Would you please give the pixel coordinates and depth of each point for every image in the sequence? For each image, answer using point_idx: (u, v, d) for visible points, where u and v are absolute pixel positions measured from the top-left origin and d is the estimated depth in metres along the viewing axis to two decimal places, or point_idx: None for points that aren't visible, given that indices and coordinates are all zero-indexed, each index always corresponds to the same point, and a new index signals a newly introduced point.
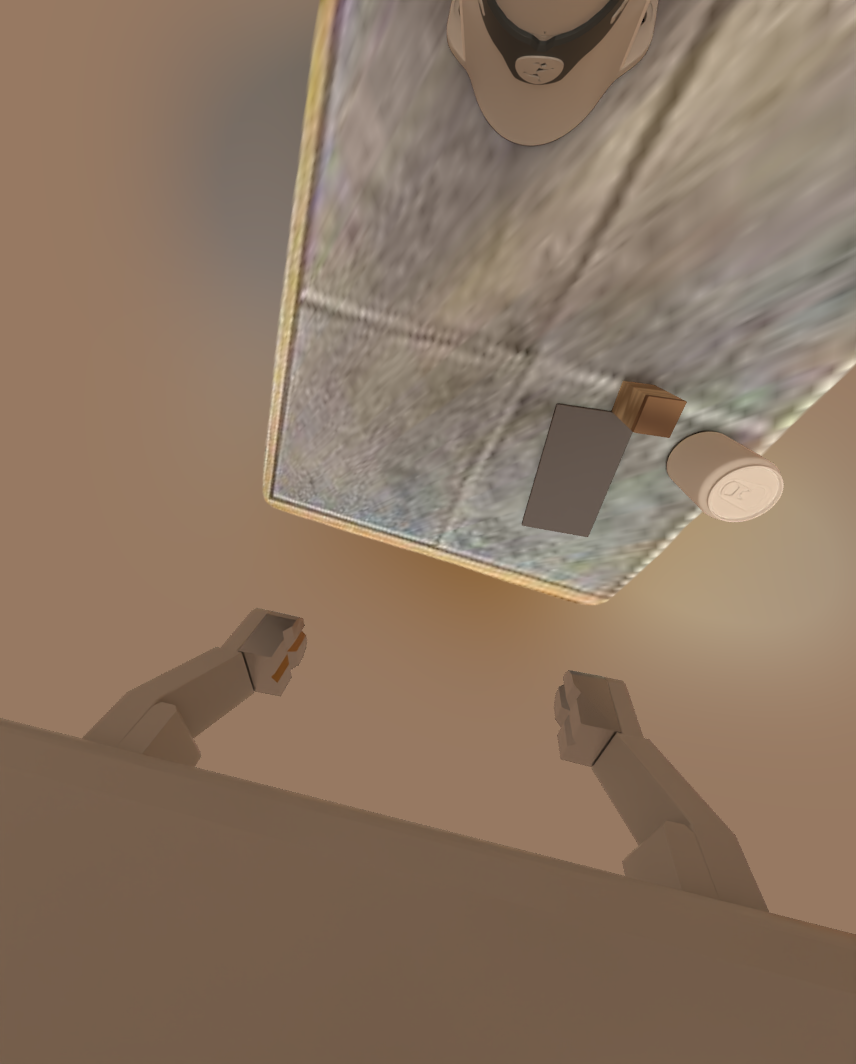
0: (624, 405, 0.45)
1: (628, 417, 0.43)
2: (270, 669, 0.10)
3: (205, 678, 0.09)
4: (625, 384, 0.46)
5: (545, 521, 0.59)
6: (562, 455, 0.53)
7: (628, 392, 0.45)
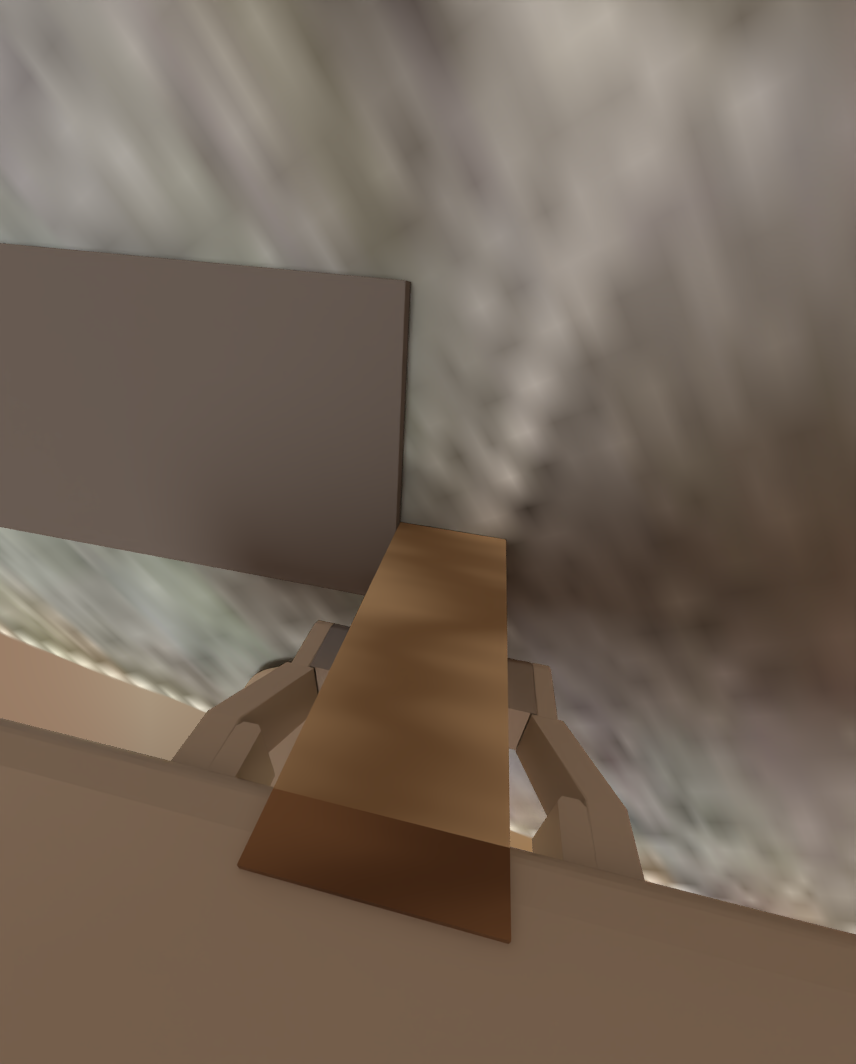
0: (426, 599, 0.10)
1: (365, 683, 0.08)
2: None
3: (281, 695, 0.09)
4: (499, 561, 0.12)
5: None
6: (184, 370, 0.11)
7: (480, 601, 0.10)
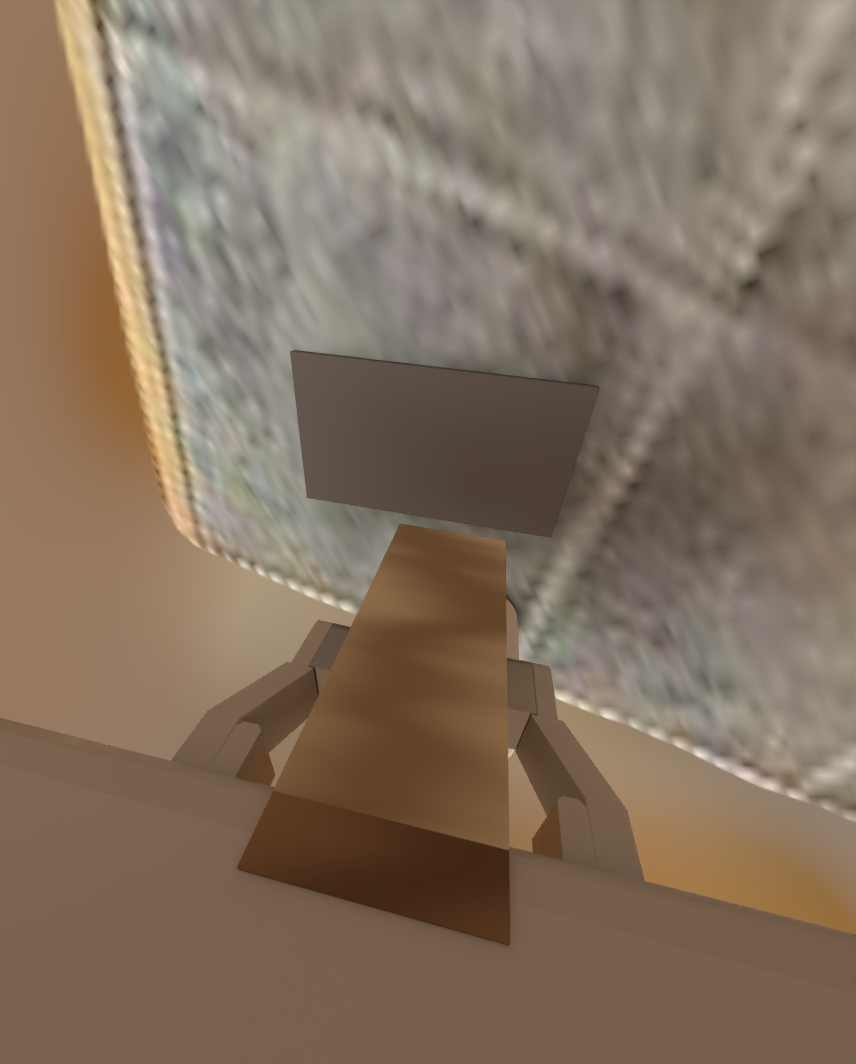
0: (425, 600, 0.10)
1: (365, 685, 0.08)
2: None
3: (281, 695, 0.09)
4: (499, 563, 0.12)
5: (315, 408, 0.26)
6: (477, 419, 0.24)
7: (479, 603, 0.10)
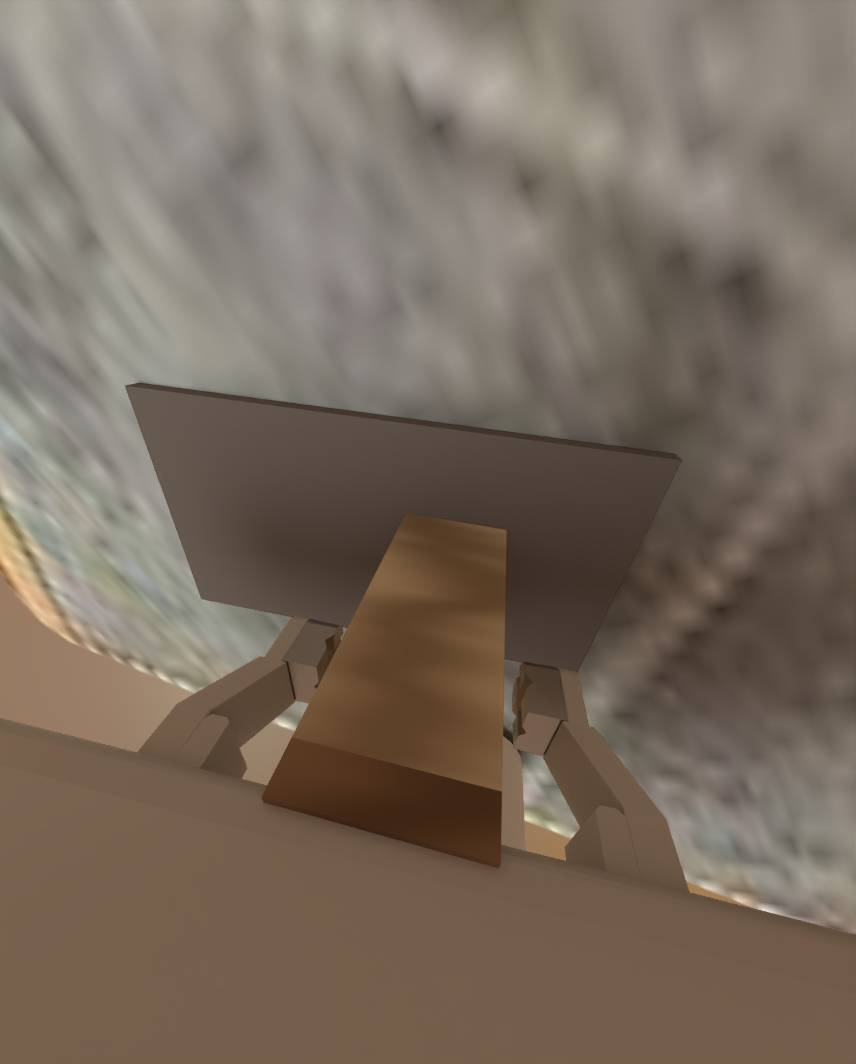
0: (430, 581, 0.11)
1: (374, 653, 0.09)
2: (314, 678, 0.10)
3: (252, 689, 0.09)
4: (500, 549, 0.13)
5: (186, 476, 0.15)
6: (455, 504, 0.14)
7: (480, 585, 0.11)
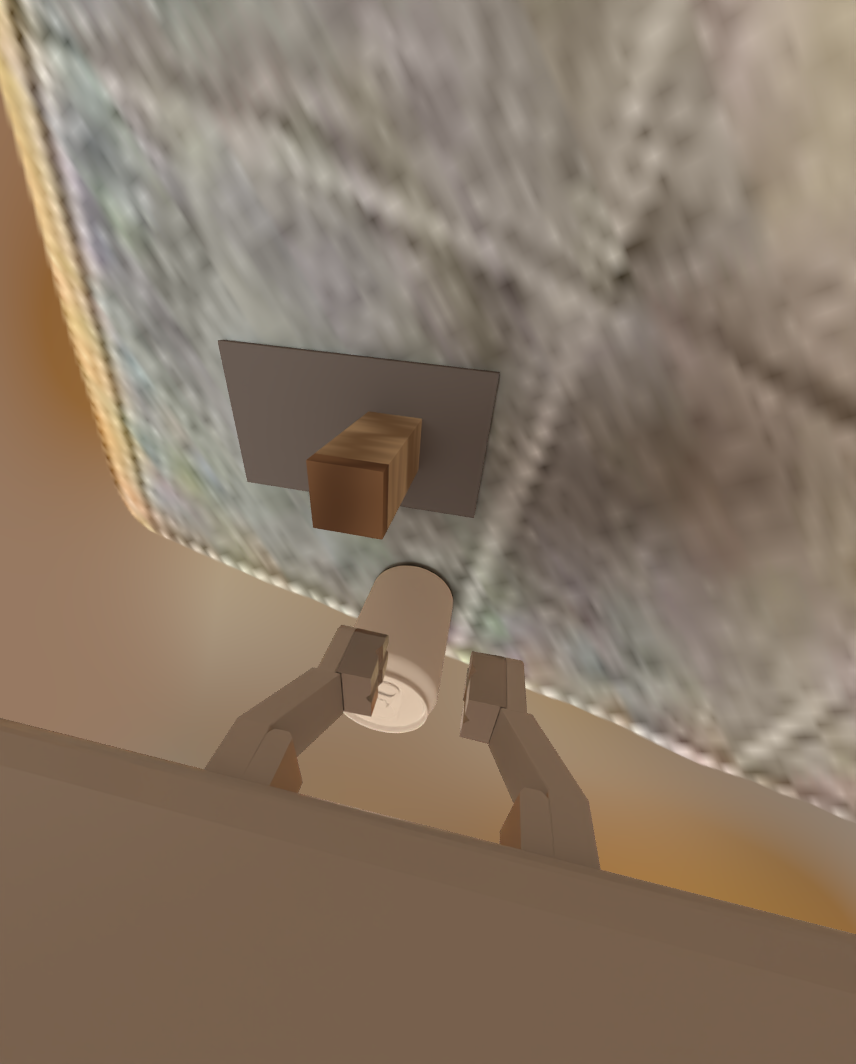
0: (375, 429, 0.23)
1: (346, 442, 0.20)
2: (367, 690, 0.09)
3: (308, 701, 0.09)
4: (415, 423, 0.25)
5: (246, 394, 0.27)
6: (394, 404, 0.26)
7: (399, 431, 0.23)
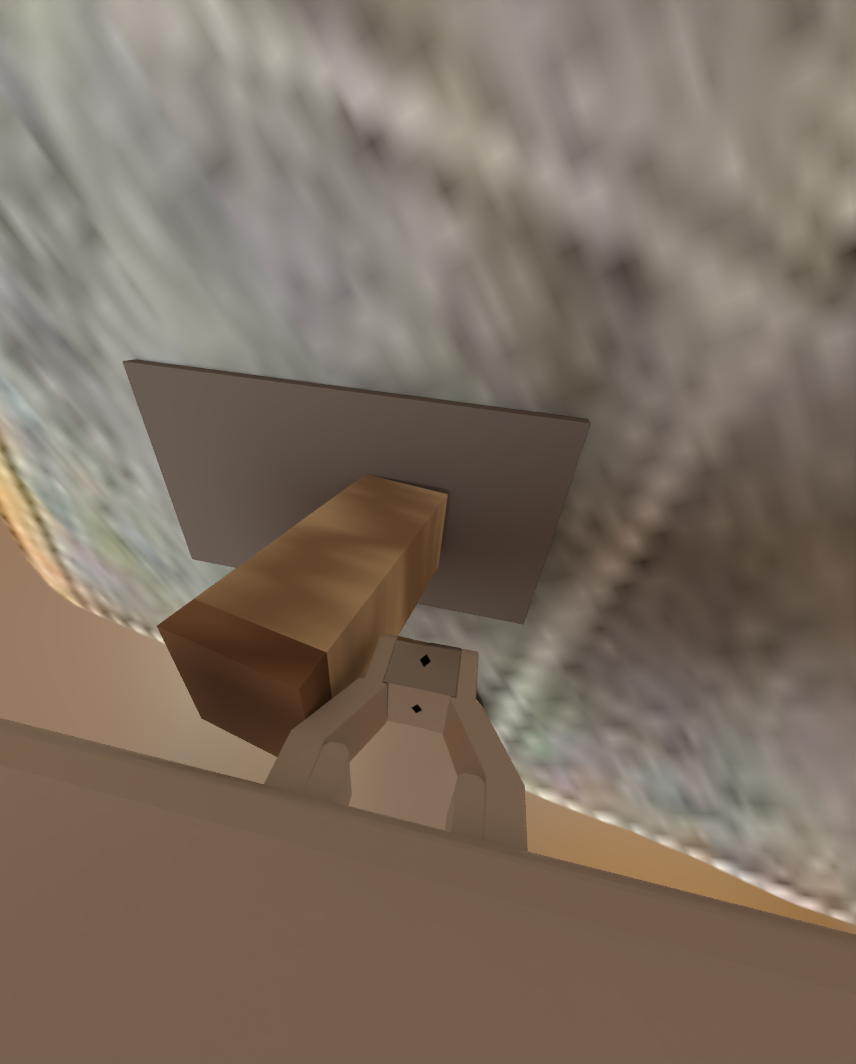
0: (355, 522, 0.13)
1: (281, 560, 0.11)
2: (413, 700, 0.09)
3: (359, 712, 0.09)
4: (431, 507, 0.14)
5: (176, 443, 0.17)
6: (406, 465, 0.16)
7: (396, 529, 0.13)
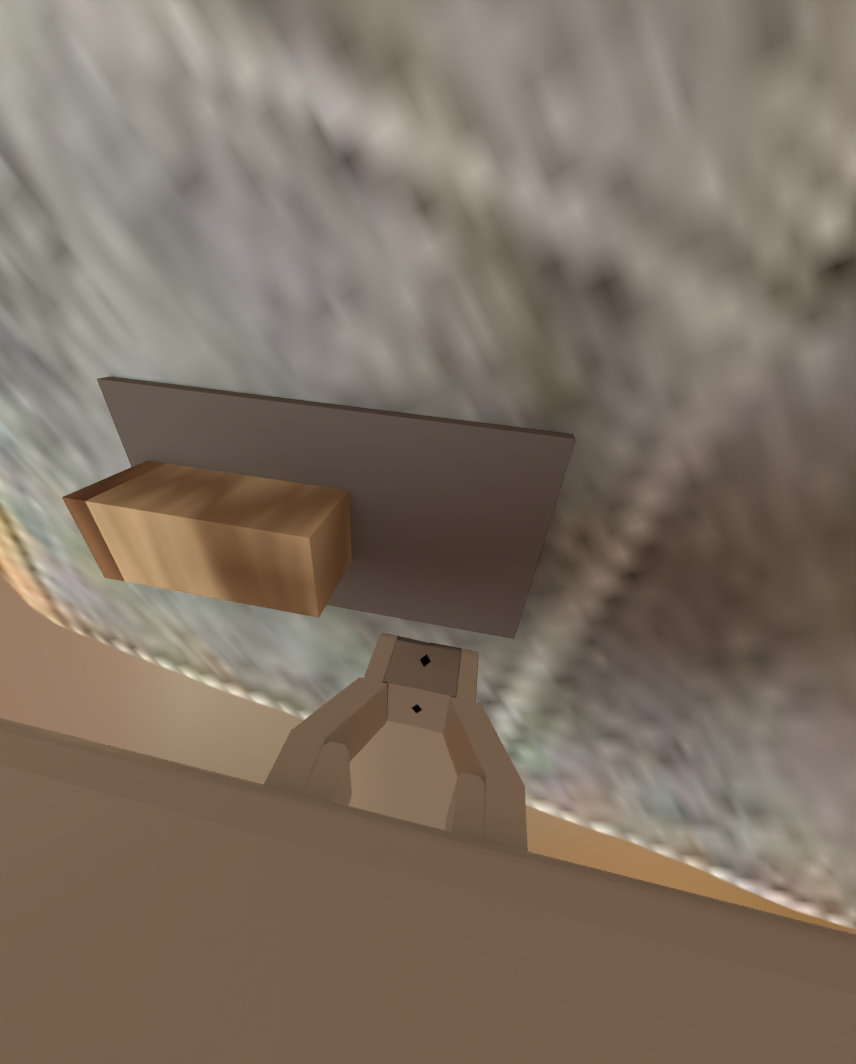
0: (246, 494, 0.15)
1: (196, 477, 0.16)
2: (413, 700, 0.09)
3: (359, 712, 0.09)
4: (274, 528, 0.13)
5: None
6: (390, 482, 0.16)
7: (230, 513, 0.14)
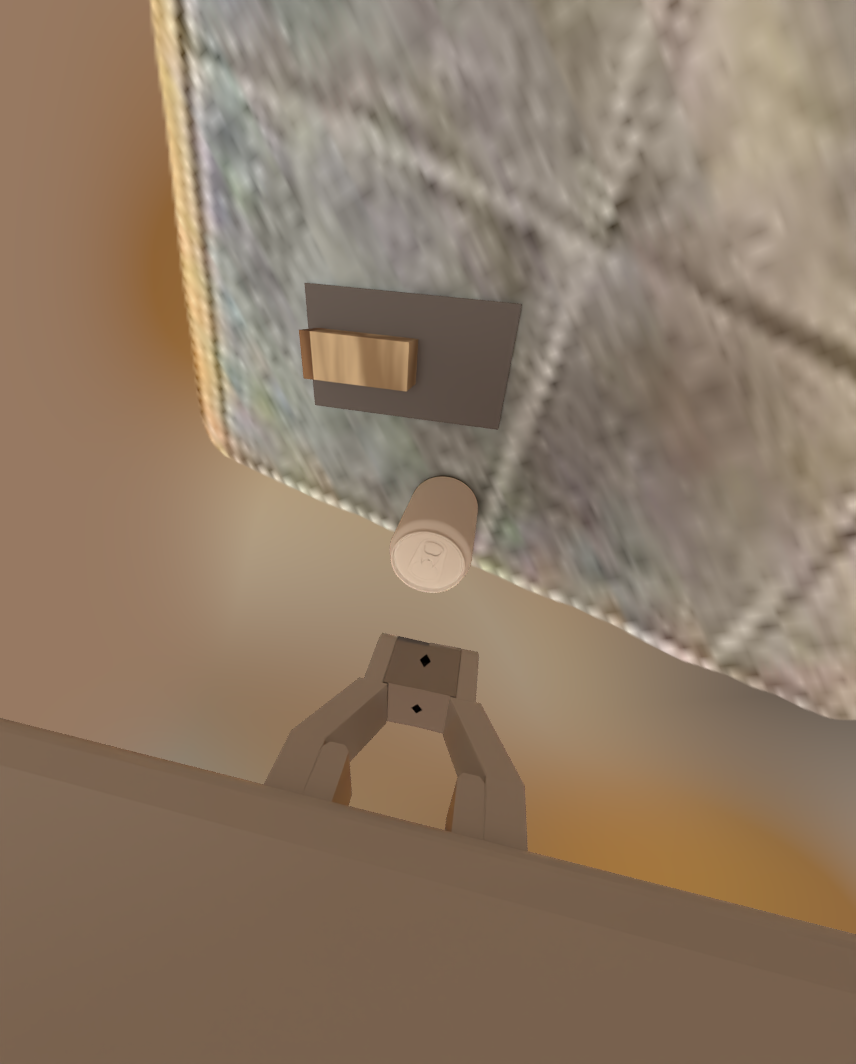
0: (373, 335, 0.33)
1: (346, 331, 0.34)
2: (413, 700, 0.09)
3: (359, 712, 0.09)
4: (393, 340, 0.31)
5: None
6: (439, 332, 0.33)
7: (371, 337, 0.32)
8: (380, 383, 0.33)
